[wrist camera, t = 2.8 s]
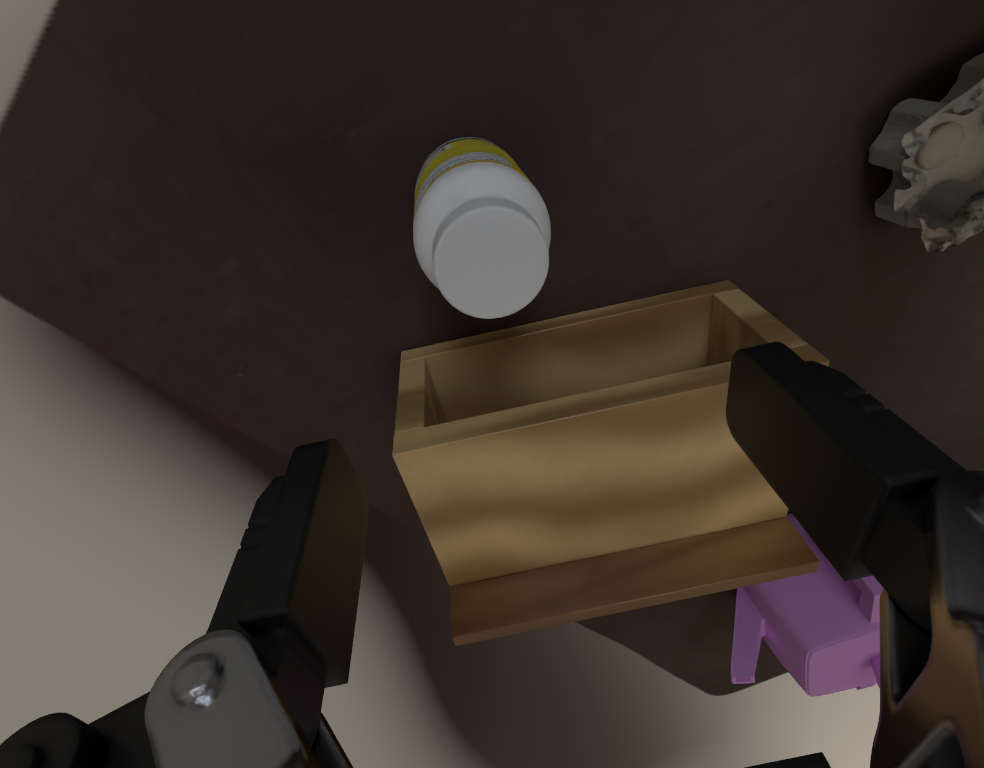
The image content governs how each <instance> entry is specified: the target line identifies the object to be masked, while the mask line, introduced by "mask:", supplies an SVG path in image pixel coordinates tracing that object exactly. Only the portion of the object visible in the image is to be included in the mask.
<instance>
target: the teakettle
mask: <svg viewBox="0 0 984 768" xmlns="http://www.w3.org/2000/svg"><path fill="white" fill-rule="evenodd" d="M786 517H787V518H788V519H789V521H790V522H791V523H792V525H793V526H794V527H795V529H796V530H797V531H798V533H799V534H800V535H801V537H802V538H803V539H804V541H805V542H806V543H807V545H808V546H809V547H810V549H811V550H812V551H813V553H814V554H815V555H816V557H817V558H818V559H819V561H820V564H819V567H818V570H817V572H814V573H809V574H804V575H799V576H794V577H789V578H785V579H780V580H775V581H770V582H765V583H760V584H755V585H750V586H746V587H741V588H737V598H736V611H735V623H734V636H733V648H732V660H731V673H730V674H731V680H732V683H733V684H739V683H755V677H754V675H755V670H756V664H757V659H758V654H759V649H760V644H761V639H762V638H763V639H764V641H765V642H766V643H767V645H768V646H769V648H770V649H771V650H772V652H773V653H774V654H775V656H776V657H777V658H778V659H779V661H780V662H781V663H782V664H783V666H784V667H785V668H786V669H787V671H788V672H789V673H790V674H791V675H792V677H793V678H794V679H795V680H796V682H797V683H798V684H799V685H800V686H801V687H802V689H803V690H804V691H805V692H806V693H807V694H808V695H810V696H820V695H826V694H830V693H834V692H839V691H844V690H848V689H852V688H857V689H862V688H866V687H870V686H873V685H875V684H876V682H877V684H878V686H879V688H880V595H881V593H882V590H883V587H882V586H881V584H880V583H879V582H878V581H877V580H876V578H875V577H874V576H868V577H863V578H858V579H854V580H849V581H844V580H843V578H842V577H841V576H840V574H839V573H838V572H837V571H836V569H835V568H834V567H833V566H832V564H831V563H830V562H829V560H828V559H827V558H826V557H825V555H824V554H823V553H822V551H821V550H820V549H819V548H818V546H817V545H816V544H815V542H814V541H813V540H812V539H811V537H810V536H809V535H808V533H807V532H806V531H805V530H804V528H803V527H802V526H801V524H800V523H799V522H798V521H797V519H796V518H795V517H794V515H793V514H792V513H791V514H788V515H787V516H786Z"/></svg>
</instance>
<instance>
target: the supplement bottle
mask: <svg viewBox="0 0 984 768" xmlns="http://www.w3.org/2000/svg"><path fill="white" fill-rule="evenodd" d="M550 239H551V226H550V219H549V215H548V211H547V208H546V205H545V203H544V201H543V199H542V197H541V195H540V193H539V192H538V190H537V189H536V188H535V187H534V185H533V184H532V183H531V182H530V180H529V179H528V178H527V177H526V175H525V174H524V173H523V171H522V170H521V169H520V168H519V166H518V165H517V164H516V163H515V161H514V160H513V159H512V158H511V157H510V156H509V155H508V154H507V153H506V152H505V151H504V150H503V149H502V148H500V147H499V146H497V145H496V144H494V143H492V142H490V141H487V140H484V139H480V138H474V137H465V138H458V139H454V140H451V141H448V142H446V143H444V144H443V145H441V146H439V147H438V148H437V149H436V150H434V151H433V152H432V153H431V154H430V155H429V157H428V158H427V159H426V161H425V162H424V164H423V166H422V167H421V169H420V172H419V175H418V178H417V182H416V187H415V202H414V219H413V241H414V248H415V252H416V256H417V259H418V262H419V264H420V266H421V268H422V270H423V271H424V273H425V274H426V276H427V277H428V279H429V280H430V281H431V282H432V283H433V284H434V285H435V286H436V287H437V288H438V289H439V290H440V292H441V293H442V295H443V296H444V298H445V299H446V300H447V301H448V302H449V303H450V304H451V305H452V306H453V307H455V308H456V309H458V310H459V311H461V312H463V313H465V314H467V315H470V316H473V317H477V318H484V319H493V318H501V317H505V316H508V315H511V314H513V313H515V312H517V311H519V310H521V309H522V308H524V307H525V306H526V305H528V304H529V303H530V302H531V301H532V300H533V299H534V298H535V297H536V296H537V294H538V293H539V291H540V290H541V288H542V286H543V284H544V282H545V279H546V276H547V272H548V266H549V253H548V250H549V246H550Z"/></svg>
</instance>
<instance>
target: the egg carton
mask: <svg viewBox="0 0 984 768" xmlns="http://www.w3.org/2000/svg"><path fill="white" fill-rule="evenodd" d="M868 161H869V163H871V164H873V165H876V166H882V167H885V168H888V169H892V172H893V180H892V182H891V184H890V186H889V188H888V189H887V191H886V192H885V193H884V194H883V195H882V196H881V197H879V198H878V199H877V200H876V201H875V214H876V216H877V217H880V218H882V219H885V220H887V221H890V222H893V223H895V224H897V225H902V226H905V227H907V228H915V227H916V228H919V229H921V230H920V234H921V239H922V240H923V242H924V245H925V248H926V251H927V252H933V253H934V252H943V251H944V250H945V249H946V248H947V247H949V246H957V245H959V244H960V243H962V242H964V241H965V240H966V239H967V238H968V237H971V236H974V235H977V234H978V233H979V232H980V231H982V230H983V229H984V53H982V54H980V55H978V56H975V57H974V58H972V59H971V60H969V61H967V62H966V63H964V64H963V65H962V68H961V70H960V72H959V75H958V79H957V82H956V83H955V84H954V85H953V87H952V88H951V89H950V91H949V93H948V95H947V96H946V97H944V98H943V99H942V100H941V101H940V102H934V101H927V100H921V99H913V98H910V99H906V100H904V101H902V102H900V103H898V104H897V105H896V106H895V107H894V108H893V109H892V110H891V111H890V114H889V117H888V119H887V121H886V123H885V125H884V127H883V130H882V132H881V133H880V135H879V136H878V137H877V139H876V140H875V141H874V142H873V143H872V144H871V146H870V147H869V159H868Z"/></svg>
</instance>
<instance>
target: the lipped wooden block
mask: <svg viewBox="0 0 984 768" xmlns="http://www.w3.org/2000/svg"><path fill="white" fill-rule="evenodd" d="M775 341H778V342H782V343H783V344H785V345H786V346H787V347H789V348H790V349H791V350H792V351H793V352H795V353H796V354H797V355H798V356H799V357H801V358H802V359H803V360H804V361H805V362H806V361H811V360H813V361H816V362H818V363H820V364H823V365H825V366H829V363H830V361H829V360H828V359H827V358H825V357H824V356H823V355H822V354H820V353H819V352H818V351H817V350H815V349H814V348H813V347H812V346H810V345H807V343H806V342H805V341H804V340H802V339H801V338H800V337H799V336H797V335H796V334H795V333H794V332H792V331H791V330H790V329H789V328H787V327H786V326H785V325H784V324H782V323H781V322H780V321H779V320H777V319H776V318H775V317H774V316H772V315H771V314H770V313H769V312H767V311H766V310H765V309H764V308H762V307H761V306H760V305H759V304H757V303H756V302H755V301H754V300H752V299H751V298H750V297H749V296H747V295H746V294H745V293H744V292H742V291H741V290H740V289H738V287H736V286H735V285H734V284H733V283H731V282H730V281H729V280H725V281H720V282H715V283H711V284H706V285H702V286H697V287H693V288H688V289H684V290H679V291H675V292H670V293H665V294H661V295H656V296H652V297H647V298H643V299H638V300H634V301H629V302H624V303H620V304H615V305H611V306H606V307H602V308H597V309H593V310H588V311H584V312H579V313H574V314H570V315H565V316H561V317H556V318H552V319H547V320H543V321H538V322H534V323H529V324H524V325H520V326H515V327H511V328H506V329H502V330H497V331H493V332H488V333H483V334H479V335H474V336H470V337H465V338H461V339H456V340H452V341H447V342H443V343H438V344H433V345H429V346H424V347H420V348H415V349H411V350H406V351H402V352H401V361H400V362H401V363H400V375H399V386H398V398H397V409H396V421H395V433H394V442H393V453H392V456H393V458H394V460H395V463H396V465H397V467H398V469H399V472H400V474H401V476H402V479H403V481H404V483H405V485H406V488H407V490H408V492H409V494H410V497H411V499H412V501H413V504H414V506H415V508H416V510H417V513H418V515H419V517H420V520H421V522H422V524H423V526H424V529H425V531H426V533H427V536H428V538H429V540H430V542H431V545H432V547H433V549H434V552H435V554H436V556H437V558H438V561H439V563H440V565H441V568H442V570H443V572H444V574H445V577H446V579H447V581H448V584H449V586H450V607H451V633H452V639H453V641H454V643H455V645H456V646H458V645H463V644H468V643H473V642H477V641H482V640H487V639H492V638H497V637H501V636H507V635H512V634H516V633H521V632H526V631H531V630H536V629H540V628H546V627H550V626H555V625H560V624H565V623H570V622H575V621H580V620H585V619H590V618H594V617H599V616H604V615H609V614H614V613H619V612H624V611H629V610H633V609H638V608H643V607H648V606H653V605H658V604H663V603H668V602H672V601H677V600H682V599H687V598H692V597H697V596H702V595H707V594H711V593H716V592H721V591H726V590H731V589H736V588H741V587H746V586H750V585H755V584H760V583H765V582H770V581H775V580H780V579H785V578H789V577H794V576H799V575H804V574H809V573H814V572H817V570H818V567H819V564H820V561H819V559H818V558H817V557H816V555H815V554H814V553H813V551H812V550H811V549H810V547H809V546H808V545H807V543H806V542H805V541H804V539H803V538H802V537H801V535H800V534H799V533H798V531H797V530H796V529H795V527H794V526H793V525H792V523H791V522H790V521H789V519H788V518H787V517H786V516H787V512H788V508H787V506H786V505H785V504H784V503H783V501H782V500H781V499H780V497H779V496H778V495H777V494H776V492H775V491H774V490H773V489H772V487H771V486H770V485H769V483H768V482H767V481H766V480H765V478H764V477H763V476H762V474H761V473H760V472H759V471H758V469H757V468H756V467H755V465H754V464H753V463H752V462H751V460H750V459H749V458H748V456H747V455H746V454H745V453H744V451H743V450H742V449H741V447H740V446H739V445H738V444H737V442H736V441H735V440H734V438H733V436H732V434H731V432H730V430H729V427H728V424H727V420H726V403H727V394H728V386H729V378H730V369H731V361H732V357H733V354H734V353H735V352H736V351H737V350H739V349H743V348H748V347H752V346H757V345H761V344H766V343H770V342H775Z"/></svg>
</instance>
